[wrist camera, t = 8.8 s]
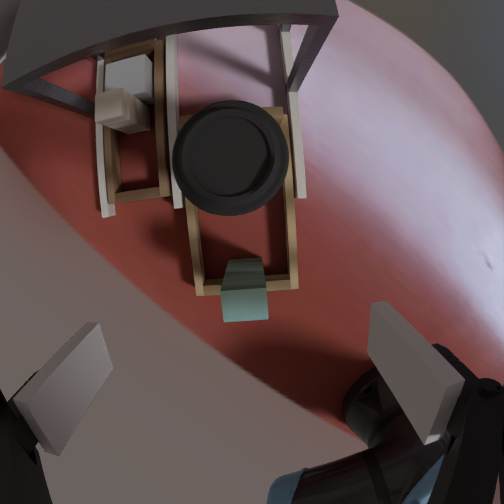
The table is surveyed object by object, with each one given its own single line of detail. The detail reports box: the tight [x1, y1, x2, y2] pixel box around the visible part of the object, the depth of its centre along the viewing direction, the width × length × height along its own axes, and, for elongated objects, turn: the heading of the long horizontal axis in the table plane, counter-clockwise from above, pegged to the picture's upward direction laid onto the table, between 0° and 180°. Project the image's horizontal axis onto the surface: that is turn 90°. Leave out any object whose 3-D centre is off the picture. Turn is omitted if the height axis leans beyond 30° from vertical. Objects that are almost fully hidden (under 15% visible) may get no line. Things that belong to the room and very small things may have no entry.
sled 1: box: [95, 39, 173, 204], centre depth 28 cm, size 20×8×9 cm, turn 4°
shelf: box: [1, 0, 339, 119], centre depth 22 cm, size 10×24×20 cm, turn 94°
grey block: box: [105, 54, 155, 105], centre depth 29 cm, size 5×5×5 cm
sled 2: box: [180, 107, 298, 322], centre depth 30 cm, size 20×12×11 cm, turn 4°
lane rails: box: [96, 24, 307, 218], centre depth 32 cm, size 23×24×2 cm
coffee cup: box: [172, 100, 289, 216], centre depth 27 cm, size 9×9×15 cm
